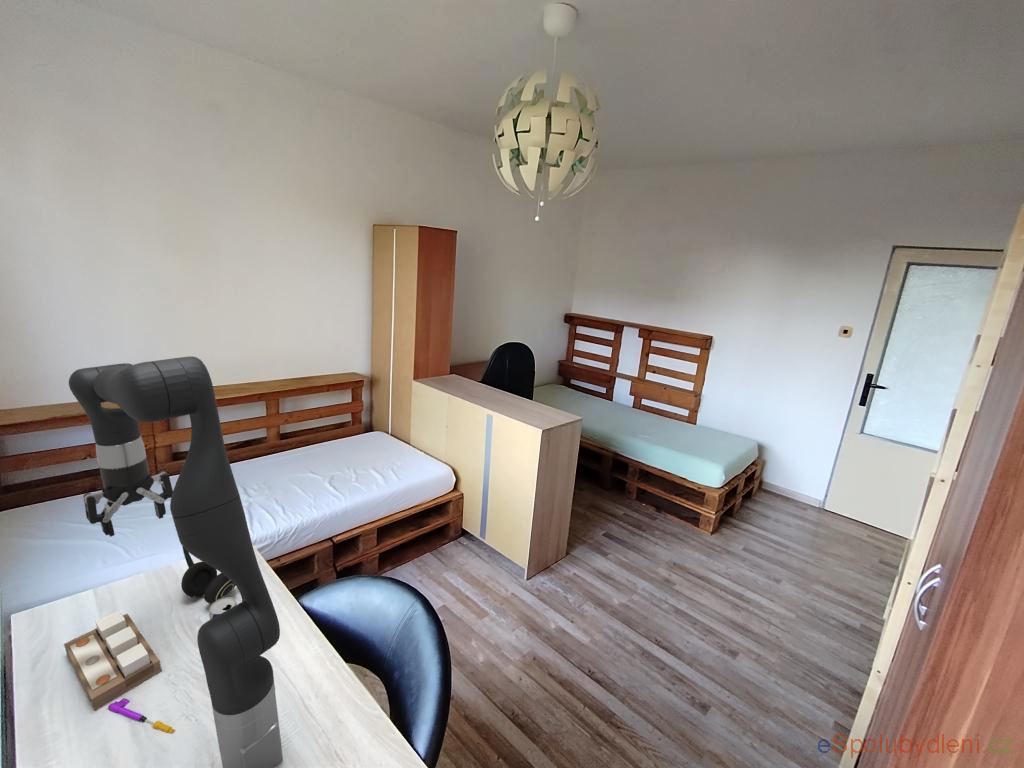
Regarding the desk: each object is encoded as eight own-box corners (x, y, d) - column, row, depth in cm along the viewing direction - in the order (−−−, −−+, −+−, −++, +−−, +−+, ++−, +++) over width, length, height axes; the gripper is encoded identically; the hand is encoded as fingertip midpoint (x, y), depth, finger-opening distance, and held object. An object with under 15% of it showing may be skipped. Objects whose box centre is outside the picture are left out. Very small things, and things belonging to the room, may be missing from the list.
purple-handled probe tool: (106, 710, 88) (170, 736, 84) (106, 704, 88) (171, 731, 84) (120, 700, 90) (183, 725, 87) (121, 695, 90) (184, 720, 87)
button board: (161, 670, 96) (159, 658, 95) (94, 710, 87) (91, 697, 86) (129, 623, 107) (126, 611, 106) (66, 654, 98) (63, 642, 97)
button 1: (127, 629, 102) (125, 619, 101) (103, 641, 99) (101, 631, 98) (121, 620, 104) (119, 610, 104) (97, 632, 101) (95, 621, 100)
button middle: (138, 646, 98) (136, 635, 98) (114, 659, 95) (111, 648, 94) (131, 636, 101) (129, 626, 100) (108, 648, 97) (105, 638, 96)
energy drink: (229, 659, 100) (223, 617, 96) (209, 653, 101) (202, 611, 97) (247, 640, 105) (242, 599, 101) (228, 634, 106) (222, 594, 102)
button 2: (150, 664, 95) (148, 653, 94) (125, 678, 91) (122, 667, 91) (143, 653, 97) (140, 642, 96) (118, 667, 94) (116, 656, 93)
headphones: (205, 577, 122) (195, 515, 116) (248, 591, 119) (240, 528, 113) (174, 599, 114) (162, 533, 109) (220, 615, 111) (209, 548, 105)
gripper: (81, 477, 84) (99, 549, 89) (170, 453, 96) (181, 517, 100) (70, 464, 88) (87, 533, 93) (157, 442, 100) (168, 505, 104)
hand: (136, 525), depth 97 cm, fingers open, 8 cm apart
